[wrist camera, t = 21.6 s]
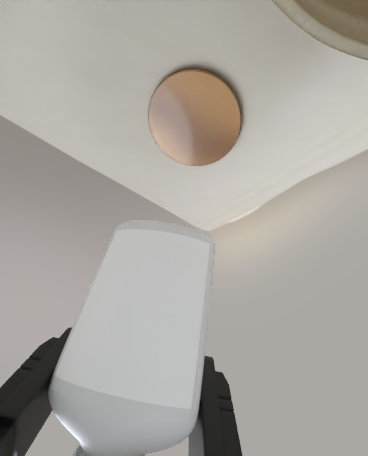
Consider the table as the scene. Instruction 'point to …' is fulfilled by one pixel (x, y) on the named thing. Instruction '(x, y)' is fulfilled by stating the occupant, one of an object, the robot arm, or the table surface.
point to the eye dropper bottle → (138, 343)
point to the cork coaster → (194, 117)
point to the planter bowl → (332, 22)
